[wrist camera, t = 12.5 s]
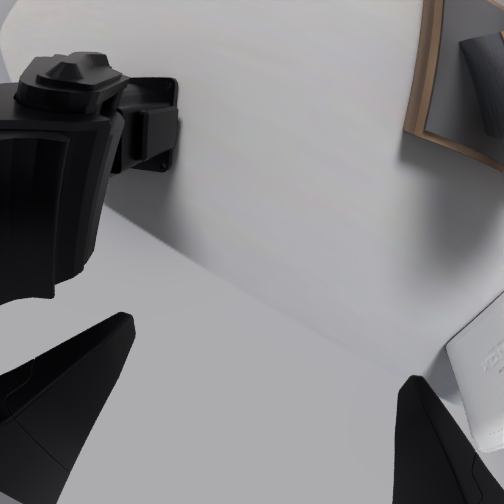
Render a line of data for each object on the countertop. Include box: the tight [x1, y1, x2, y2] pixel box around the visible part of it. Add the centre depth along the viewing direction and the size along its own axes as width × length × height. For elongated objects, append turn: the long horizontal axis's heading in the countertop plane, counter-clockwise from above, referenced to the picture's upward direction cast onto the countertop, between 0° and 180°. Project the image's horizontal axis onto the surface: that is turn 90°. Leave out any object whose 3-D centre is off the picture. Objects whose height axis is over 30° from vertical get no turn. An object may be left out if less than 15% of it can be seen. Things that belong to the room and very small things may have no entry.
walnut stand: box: [403, 0, 504, 172], centre depth 12 cm, size 11×11×2 cm
